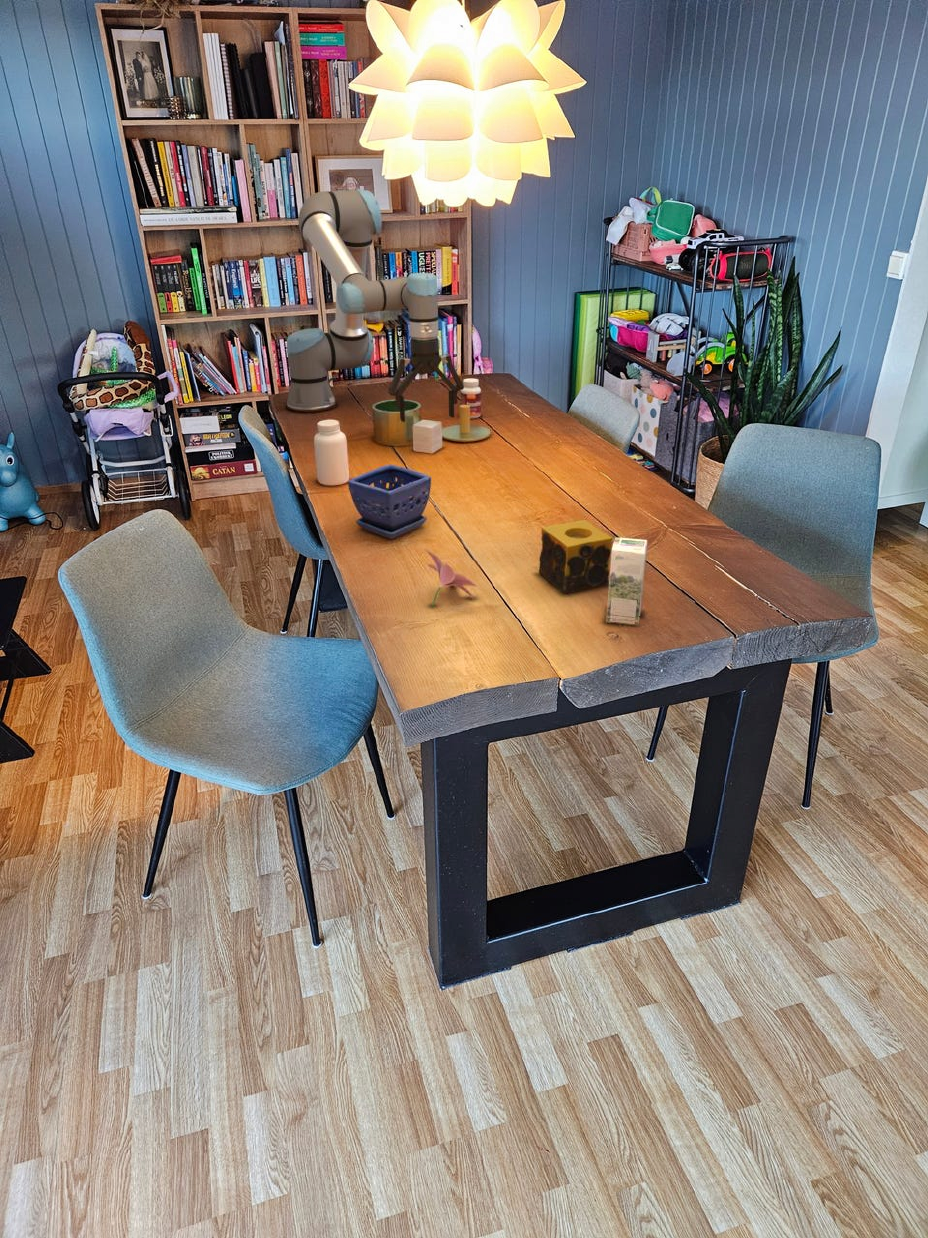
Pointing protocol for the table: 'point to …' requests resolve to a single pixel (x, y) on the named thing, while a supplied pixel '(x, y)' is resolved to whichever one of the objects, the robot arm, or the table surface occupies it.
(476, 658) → the table surface
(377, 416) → the tin
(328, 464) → the pill bottle
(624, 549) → the syrup box
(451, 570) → the lily
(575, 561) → the candle
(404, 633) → the table surface
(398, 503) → the flower pot
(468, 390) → the pill bottle
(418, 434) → the skincare box
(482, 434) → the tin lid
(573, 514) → the table surface
